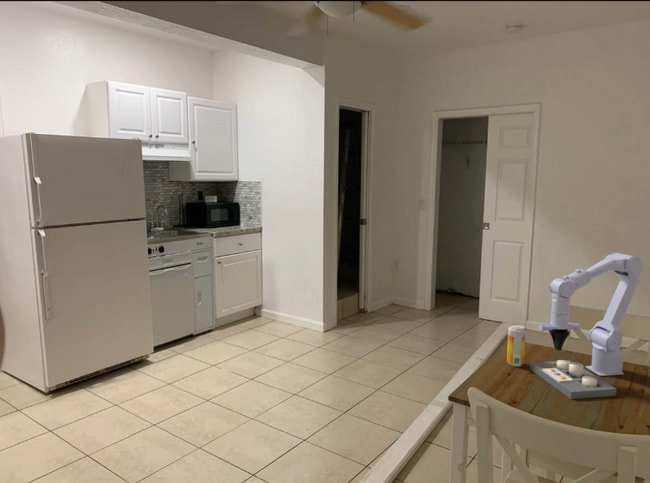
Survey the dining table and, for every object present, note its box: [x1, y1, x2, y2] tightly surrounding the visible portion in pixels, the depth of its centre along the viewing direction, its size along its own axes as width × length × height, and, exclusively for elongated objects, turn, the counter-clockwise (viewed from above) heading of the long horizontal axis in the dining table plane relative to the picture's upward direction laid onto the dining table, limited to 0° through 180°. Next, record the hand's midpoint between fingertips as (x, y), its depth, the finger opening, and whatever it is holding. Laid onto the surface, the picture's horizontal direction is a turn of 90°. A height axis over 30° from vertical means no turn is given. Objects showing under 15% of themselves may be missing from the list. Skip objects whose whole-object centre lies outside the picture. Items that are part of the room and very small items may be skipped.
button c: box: [582, 376, 597, 387], centre depth 156 cm, size 4×4×4 cm
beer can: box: [506, 324, 526, 368], centre depth 177 cm, size 6×6×15 cm
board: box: [529, 359, 618, 400], centre depth 163 cm, size 16×24×2 cm, turn 7°
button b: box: [569, 361, 585, 378], centre depth 163 cm, size 4×4×4 cm
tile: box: [542, 368, 573, 383], centre depth 162 cm, size 5×10×1 cm, turn 7°
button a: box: [556, 359, 570, 370], centre depth 170 cm, size 4×4×4 cm
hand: (557, 349), depth 167 cm, fingers closed
